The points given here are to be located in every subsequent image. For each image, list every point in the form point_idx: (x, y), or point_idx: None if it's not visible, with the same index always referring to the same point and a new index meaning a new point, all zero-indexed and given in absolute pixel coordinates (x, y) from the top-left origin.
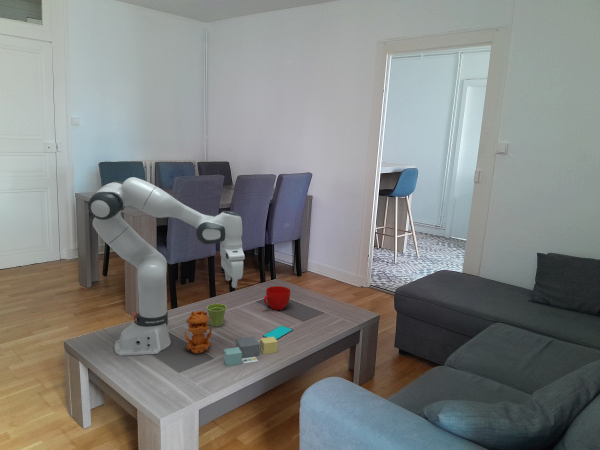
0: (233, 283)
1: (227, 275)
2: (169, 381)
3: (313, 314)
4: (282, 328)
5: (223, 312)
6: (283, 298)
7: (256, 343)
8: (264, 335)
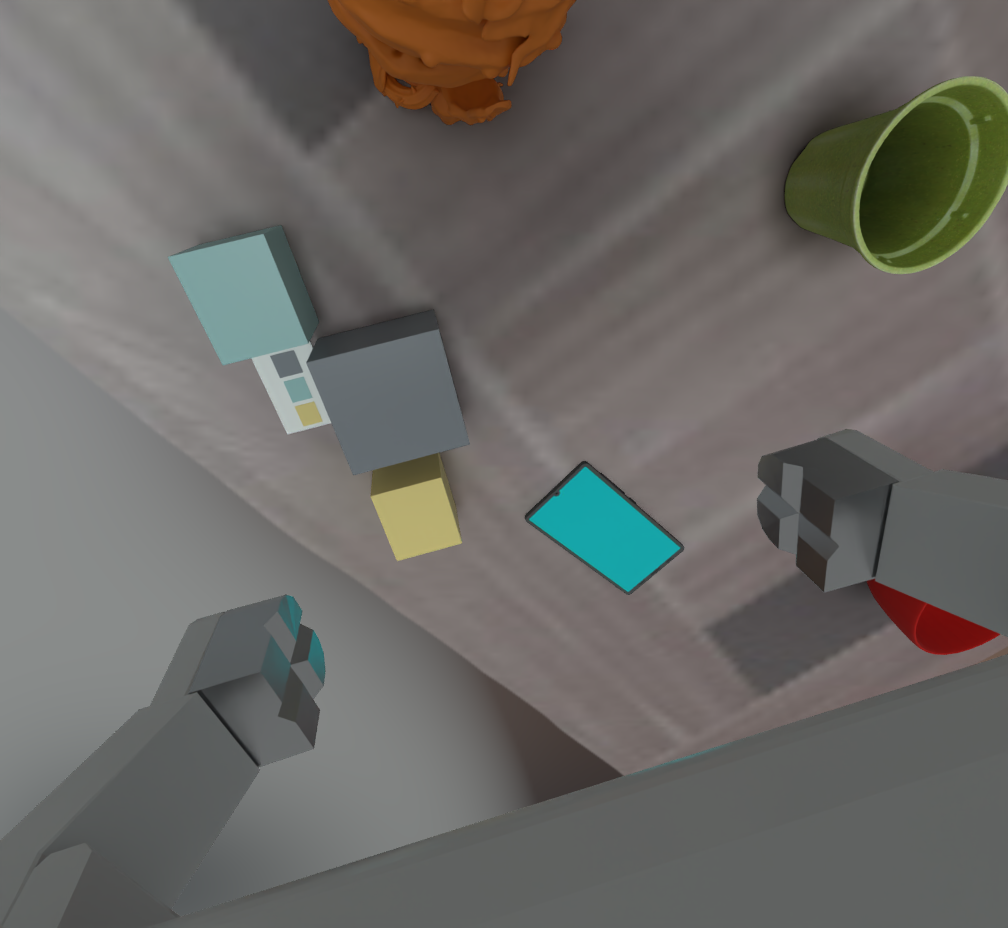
0: (152, 726)
1: (898, 529)
2: None
3: (760, 663)
4: (649, 553)
5: (850, 243)
6: (892, 607)
7: (364, 456)
8: (586, 472)
